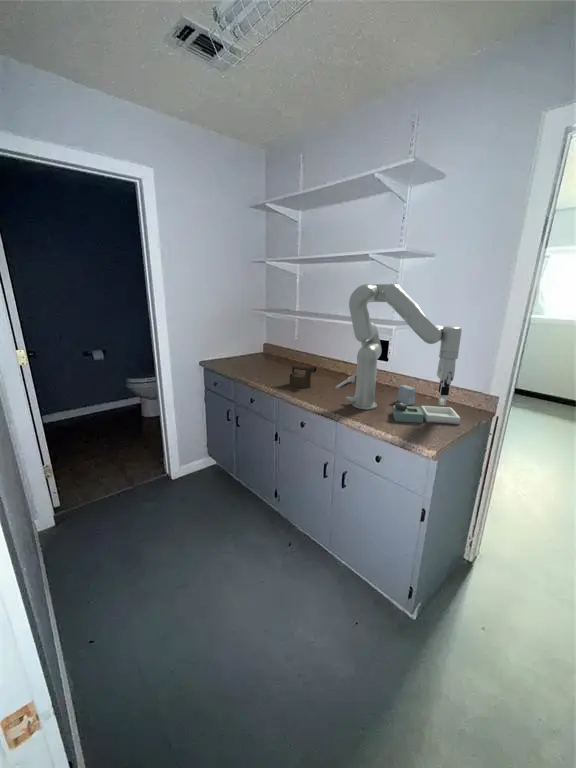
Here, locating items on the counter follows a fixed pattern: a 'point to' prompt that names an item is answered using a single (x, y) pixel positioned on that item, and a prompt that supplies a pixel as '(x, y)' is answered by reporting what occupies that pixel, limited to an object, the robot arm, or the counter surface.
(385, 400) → the counter surface
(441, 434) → the counter surface
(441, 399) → the pin
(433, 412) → the tray
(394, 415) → the green slotted box
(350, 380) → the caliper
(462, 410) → the counter surface
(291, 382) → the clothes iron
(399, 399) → the medicine box
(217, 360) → the counter surface
